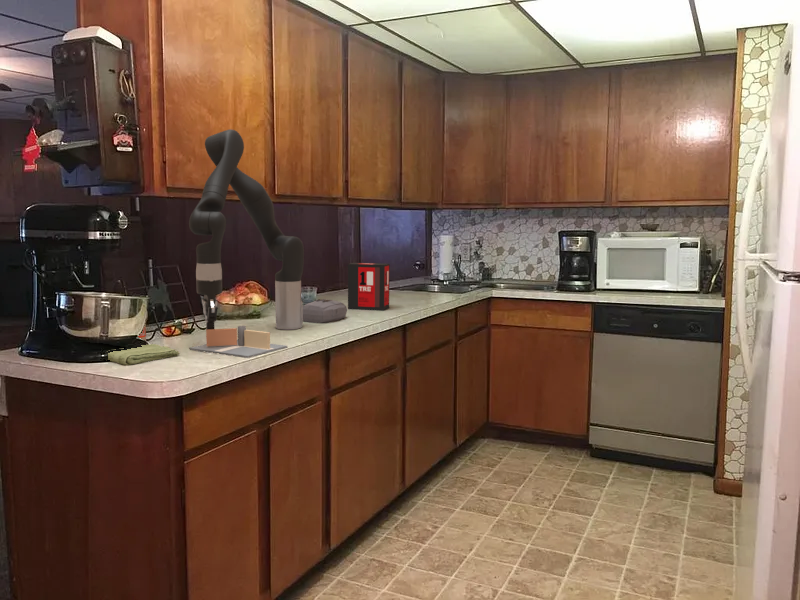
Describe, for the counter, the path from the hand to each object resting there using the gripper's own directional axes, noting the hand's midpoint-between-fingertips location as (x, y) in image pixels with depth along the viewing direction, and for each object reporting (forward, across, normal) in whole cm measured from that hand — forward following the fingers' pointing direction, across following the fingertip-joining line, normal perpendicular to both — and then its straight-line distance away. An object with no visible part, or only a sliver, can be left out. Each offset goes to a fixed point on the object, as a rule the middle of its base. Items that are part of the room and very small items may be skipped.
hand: (210, 333), depth 201 cm
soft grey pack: (+6, -40, +51) cm, 65 cm away
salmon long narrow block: (+3, +3, +3) cm, 5 cm away
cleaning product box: (+7, -63, +79) cm, 101 cm away
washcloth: (+5, +8, -20) cm, 23 cm away
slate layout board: (+4, +5, +8) cm, 10 cm away
